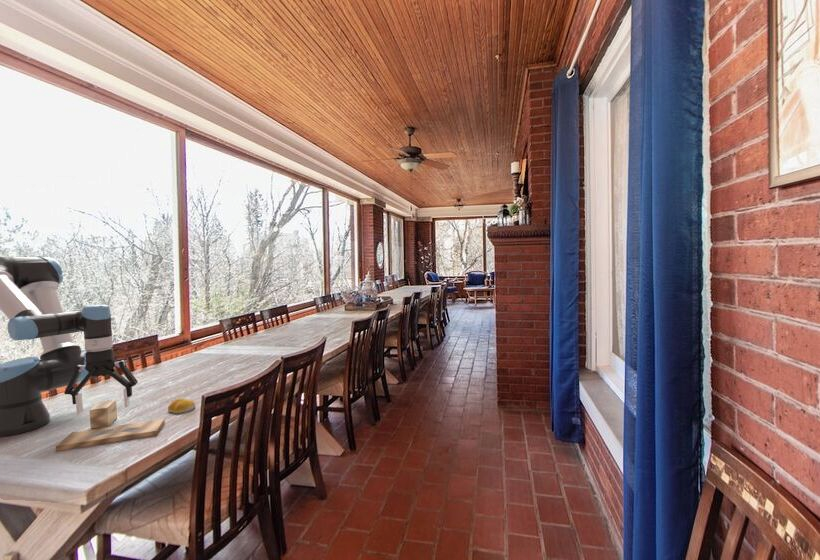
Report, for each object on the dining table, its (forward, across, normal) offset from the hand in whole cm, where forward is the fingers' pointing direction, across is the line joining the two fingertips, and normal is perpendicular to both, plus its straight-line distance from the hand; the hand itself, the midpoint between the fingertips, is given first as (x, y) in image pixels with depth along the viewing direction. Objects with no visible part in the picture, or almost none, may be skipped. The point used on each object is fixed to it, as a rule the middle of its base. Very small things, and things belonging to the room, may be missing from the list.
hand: (104, 409), depth 133 cm
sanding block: (+5, 0, 0) cm, 5 cm away
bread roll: (+6, +23, +4) cm, 24 cm away
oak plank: (+6, +7, -13) cm, 15 cm away
